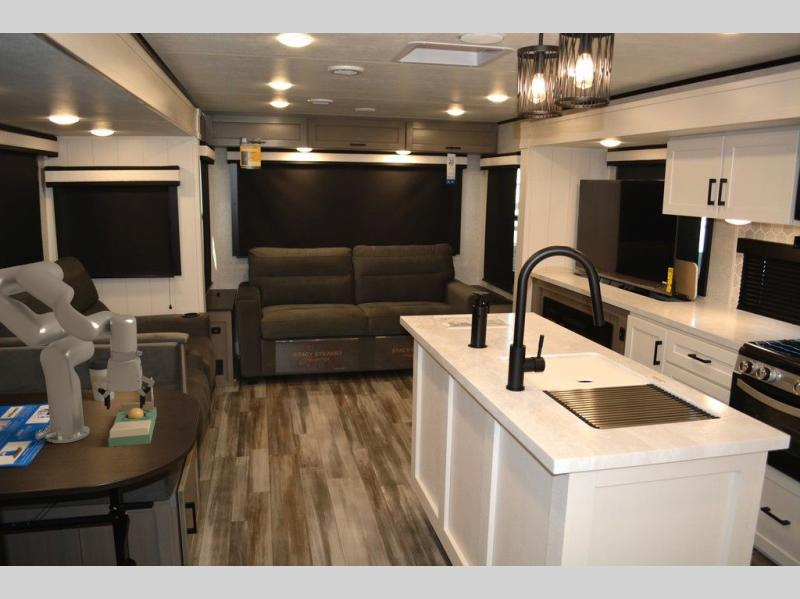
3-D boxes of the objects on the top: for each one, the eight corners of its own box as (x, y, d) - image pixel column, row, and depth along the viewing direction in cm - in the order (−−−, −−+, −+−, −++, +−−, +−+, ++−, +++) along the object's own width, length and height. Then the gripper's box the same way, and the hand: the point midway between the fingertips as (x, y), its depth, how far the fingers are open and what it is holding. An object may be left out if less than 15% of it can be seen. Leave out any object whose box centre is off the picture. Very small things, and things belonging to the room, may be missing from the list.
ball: (147, 421, 218) (146, 407, 217) (134, 424, 213) (134, 409, 213) (137, 420, 220) (136, 406, 220) (124, 423, 216) (124, 408, 215)
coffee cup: (112, 392, 246) (109, 354, 243) (121, 398, 240) (118, 360, 237) (87, 397, 240) (84, 359, 237) (96, 404, 233) (93, 364, 230)
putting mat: (150, 443, 202) (147, 401, 199) (108, 447, 199) (105, 404, 196) (157, 414, 225) (154, 376, 223) (120, 416, 222) (117, 378, 219)
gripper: (155, 350, 203) (155, 401, 206) (95, 351, 198) (97, 404, 202) (152, 358, 196) (153, 410, 199) (90, 359, 191) (92, 413, 194)
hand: (125, 407), depth 200 cm, fingers open, 9 cm apart
